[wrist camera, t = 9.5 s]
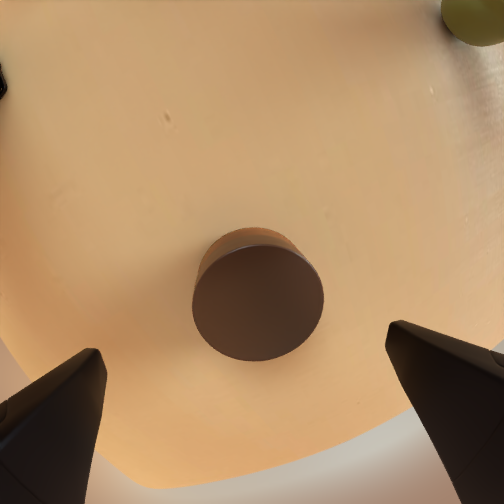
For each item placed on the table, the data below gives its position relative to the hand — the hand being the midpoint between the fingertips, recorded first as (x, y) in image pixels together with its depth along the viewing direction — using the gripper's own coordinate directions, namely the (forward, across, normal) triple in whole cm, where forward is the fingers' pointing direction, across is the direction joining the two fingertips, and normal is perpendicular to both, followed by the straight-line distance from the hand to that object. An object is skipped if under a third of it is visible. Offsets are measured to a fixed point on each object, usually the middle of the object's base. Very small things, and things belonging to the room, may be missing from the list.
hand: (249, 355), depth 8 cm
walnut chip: (+9, -1, +2) cm, 9 cm away
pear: (+11, -19, -19) cm, 29 cm away
